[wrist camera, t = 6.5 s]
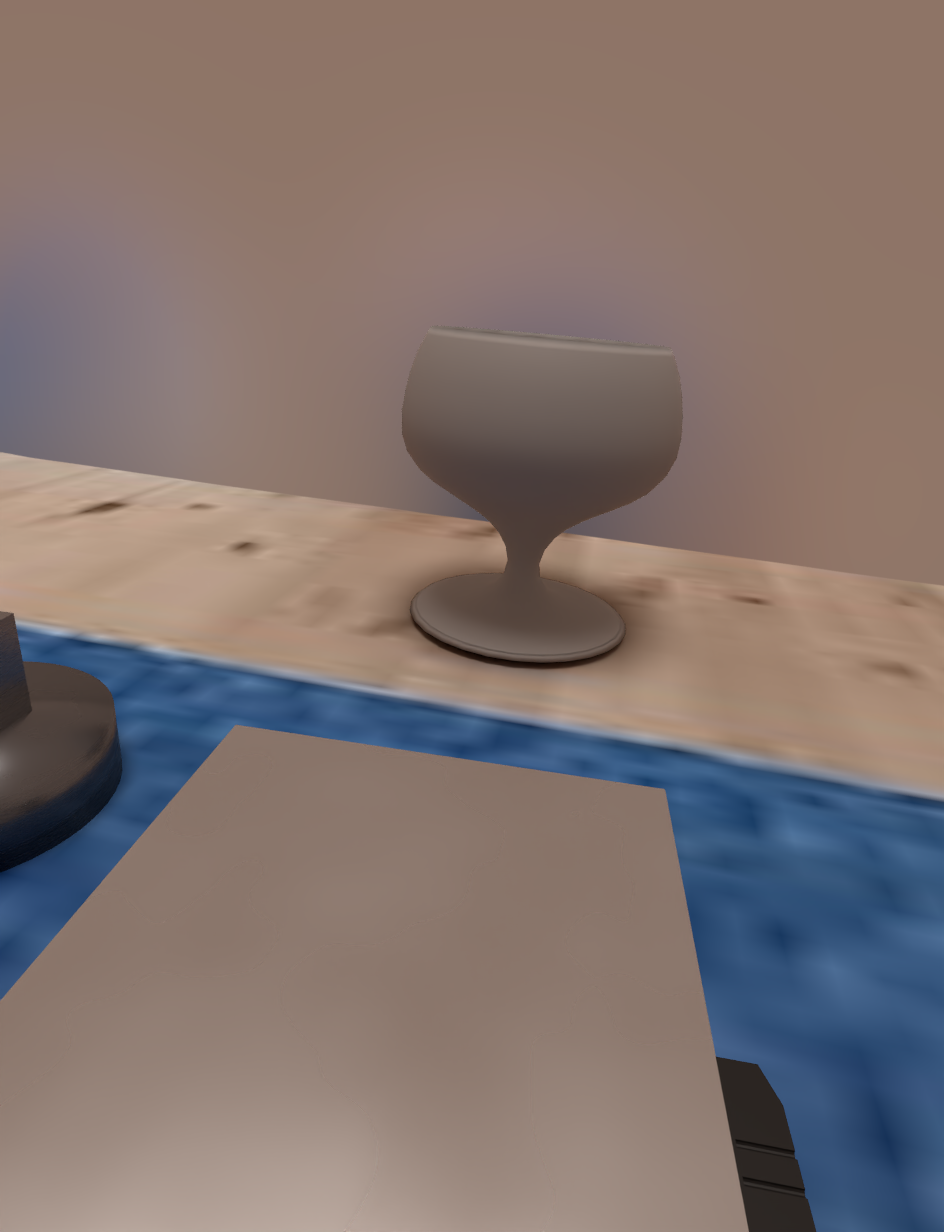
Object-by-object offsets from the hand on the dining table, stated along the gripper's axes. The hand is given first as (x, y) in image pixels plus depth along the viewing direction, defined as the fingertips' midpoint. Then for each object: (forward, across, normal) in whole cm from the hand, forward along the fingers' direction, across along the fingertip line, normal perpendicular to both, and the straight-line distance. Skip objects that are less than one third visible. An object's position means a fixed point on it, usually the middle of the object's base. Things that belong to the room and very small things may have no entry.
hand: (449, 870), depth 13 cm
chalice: (+26, 0, -6) cm, 27 cm away
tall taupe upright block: (-5, 0, -6) cm, 8 cm away
